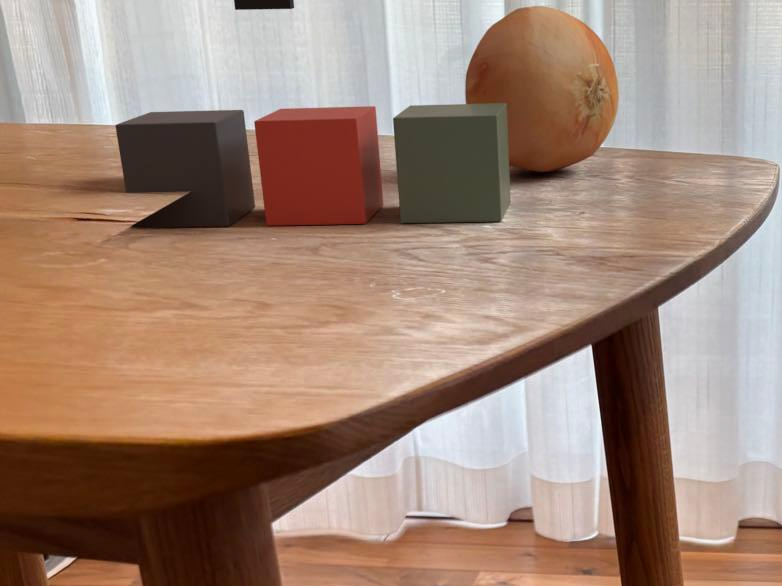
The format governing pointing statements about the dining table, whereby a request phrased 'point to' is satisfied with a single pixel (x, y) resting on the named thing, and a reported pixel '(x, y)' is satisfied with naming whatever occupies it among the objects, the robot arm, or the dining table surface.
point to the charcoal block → (189, 165)
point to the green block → (452, 163)
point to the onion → (546, 86)
